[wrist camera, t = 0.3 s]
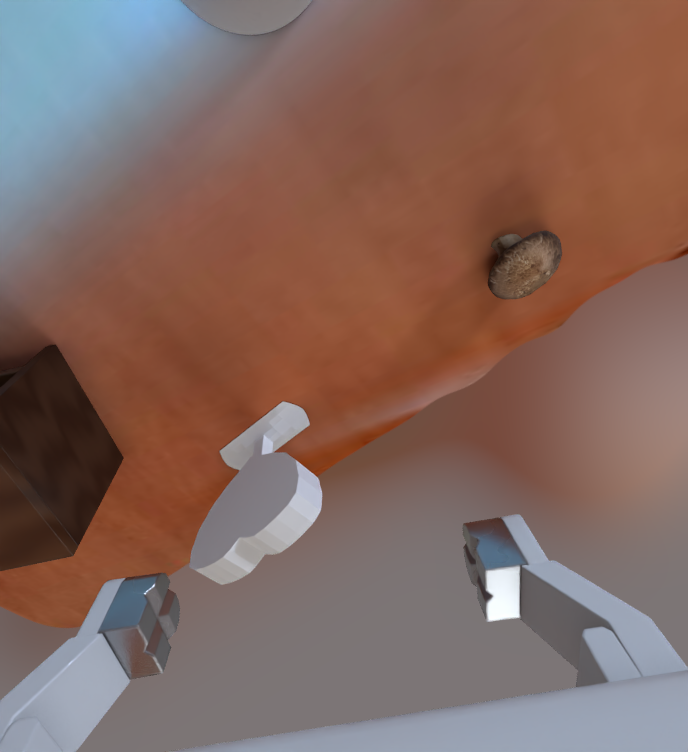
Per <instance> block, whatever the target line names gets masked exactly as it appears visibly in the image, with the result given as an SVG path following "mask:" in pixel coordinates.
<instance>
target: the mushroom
mask: <svg viewBox="0 0 688 752" xmlns="http://www.w3.org/2000/svg"><path fill="white" fill-rule="evenodd" d="M491 247H492V248H493V249H494V250H495V251H496V252H497V253H498V256H499V258H498V259H497V261H496V263H495V264H494V266H493V268H492V269H491V271H490V274H489V279H488V286H489V288H490V290H491V291H492V293H493V294H494V295H495V296H496V297H499V298H501V299H518V298H522V297H525V296H527V295H529V294H531V293H532V292H534V291H535V290H536V289H538V288H539V287H541V286H542V285H544V284H545V283H546V282H547V281H548V280H549V279H550V277H551V276H552V275H553V274H554V272H555V271H556V270H557V268H558V265H559V263H560V260H561V256H562V249H561V243H560V240H559V238H558V237H557V236H556V235H555V234H553V233H551V232H549V231H540V232H536V233H533V234H531V235H529V236H527V237H525V238H523V239H522V238H521V237H520V236H518V235H515V234H508V235H504V236H501V237H499V238H497V239H496V240H494V241H493V242H492V244H491Z"/></svg>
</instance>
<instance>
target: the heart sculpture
mask: <svg viewBox="0 0 688 752" xmlns="http://www.w3.org/2000/svg"><path fill="white" fill-rule="evenodd" d="M309 425H310V424H309V420H308V417H307V415H306V413H305V411H304V410H303V409H302V408H300V407H299V406H297V405H294V404H291V403H287V402H282V403H280V404H279V405H278V406H276V407H275V408H274V409H273V410H271V411H270V412H269V413H268V414H266V415H265V416H264V417H262V418H261V419H260V420H259V421H257V422H256V423H255V424H254V425H252V426H251V427H250V428H248V429H247V430H246V431H245V432H243V433H242V434H241V435H239V436H238V437H237V438H236V439H234V440H233V441H232V442H231V443H229V444H228V445H227V446H225V447H224V448H223V449H222V450H220V454H221V456H222V458H223V460H224V461H225V463H226V464H227V465H228V466H230V467H232V468H234V469H238V470H240V471H239V472H238V474H237V475H236V476H235V477H234V478H233V480H232V481H231V482H230V483H229V484H228V486H227V487H226V488H225V490H224V491H223V492H222V494H221V495H220V497H219V498H218V499H217V501H216V502H215V503H214V505H213V506H212V508H211V510H210V511H209V513H208V515H207V517H206V518H205V520H204V522H203V524H202V526H201V527H200V529H199V531H198V534H197V537H196V540H195V543H194V546H193V549H192V552H191V559H190V566H189V567H190V568H192V569H194V570H196V571H197V572H199V573H201V574H203V575H205V576H206V577H208V578H210V579H212V580H213V581H215V582H217V583H219V584H220V585H222V584H226V583H231V582H233V581H236V580H238V579H241V578H242V577H244V576H246V575H247V574H249V573H250V572H251V571H252V570H253V569H254V568H255V567H256V566H257V564H258V563H259V562H260V560H261V559H262V558H263V556H264V555H265V554H273V555H274V554H278V553H281V552H282V551H284V550H285V549H286V548H288V547H289V546H290V545H292V544H293V543H294V542H295V541H296V540H297V539H298V538H299V537H300V536H302V535H303V533H304V532H305V531H306V530H307V529H308V528H309V527H310V526H311V525H312V524H313V523H314V521H315V519H316V518H317V516H318V515H319V513H320V511H321V503H322V491H321V487H320V483H319V479H318V477H316V476H315V475H314V474H313V473H311V472H310V471H309V470H308V469H306V468H305V467H304V466H303V465H301V464H300V463H299V462H298V461H296V460H295V459H294V458H292V457H291V456H290V455H288V454H287V453H273V452H274V451H276V450H277V449H278V448H280V447H281V446H282V445H284V444H285V443H286V442H288V441H289V440H290V439H292V438H293V437H294V436H296V435H297V434H298V433H300V432H301V431H302V430H304V429H305V428H306V427H308V426H309Z"/></svg>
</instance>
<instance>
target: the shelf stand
mask: <svg viewBox="0 0 688 752" xmlns="http://www.w3.org/2000/svg"><path fill="white" fill-rule="evenodd" d="M122 460H123V456H122V455H121V453H120V451H119V450H118V448H117V446H116V445H115V443H114V441H113V440H112V438H111V436H110V435H109V433H108V431H107V430H106V428H105V426H104V425H103V423H102V421H101V420H100V418H99V416H98V415H97V413H96V411H95V410H94V408H93V406H92V405H91V403H90V401H89V400H88V398H87V396H86V395H85V393H84V391H83V390H82V388H81V386H80V385H79V383H78V381H77V380H76V378H75V376H74V375H73V373H72V371H71V370H70V368H69V366H68V365H67V363H66V361H65V360H64V358H63V356H62V355H61V353H60V351H59V350H58V348H57V346H56V345H52V346H47V347H45V348H44V349H43V350H42V351H40V352H39V353H38V354H37V355H36V356H35V357H34V358H33V359H32V360H30V361H29V362H28V363H27V364H26V365H25V366H22V367H17V368H13V369H8V370H3V371H0V571H3V570H8V569H13V568H18V567H23V566H28V565H32V564H37V563H42V562H47V561H52V560H57V559H61V558H66V557H71V556H74V554H75V552H76V550H77V548H78V546H79V544H80V542H81V540H82V538H83V536H84V534H85V532H86V530H87V528H88V526H89V524H90V522H91V520H92V519H93V517H94V515H95V513H96V511H97V509H98V507H99V505H100V503H101V501H102V499H103V497H104V495H105V493H106V491H107V489H108V488H109V486H110V484H111V482H112V480H113V478H114V476H115V474H116V472H117V470H118V468H119V466H120V464H121V462H122Z"/></svg>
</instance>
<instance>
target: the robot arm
mask: <svg viewBox="0 0 688 752" xmlns="http://www.w3.org/2000/svg"><path fill="white" fill-rule="evenodd" d="M181 1H182V2H183V3H184V4H185V5H186V6H187V7H188V8H189V9H190V10H191V11H192V12H194V13H195V14H196V15H197V16H199V17H200V18H201V19H203V20H204V21H206V22H208V23H209V24H211V25H213V26H215V27H217V28H219V29H222V30H224V31H227V32H231V33H235V34H241V35H259V34H265V33H269V32H272V31H275V30H277V29H280V28H282V27H284V26H285V25H287V24H289V23H290V22H291V21H293V20H294V19H295V18H297V17H298V16H299V15H300V14H301V13H302V12H303V11H304V10H305V9H306V7H307V6H308V5H309V4H310V2H311V1H312V0H181ZM463 536H464V539H465V541H466V544H465V546H464V557H465V562H466V567H467V571H468V574H469V577H470V580H471V582H472V584H473V585H475V586H476V587H477V594H478V601H479V603H480V606H481V608H482V611H483V613H484V616H485V618H486V621H487V622H489V621H497V620H504V619H512V618H521V620H522V621H523V622H524V623H525V624H526V625H528V626H529V627H530V628H531V629H532V630H533V631H534V632H535V633H537V634H538V635H539V636H540V637H541V638H542V639H543V640H544V641H546V642H547V643H548V644H549V645H550V646H551V647H553V649H555V650H556V651H557V652H558V653H559V654H560V655H561V656H562V657H564V658H565V659H566V660H567V661H568V662H569V663H570V664H571V665H573V666H574V667H575V668H576V669H577V670H578V673H577V682H576V687H575V688H569V689H562V690H556V691H549V692H544V693H537V694H530V695H524V696H517V697H511V698H505V699H499V700H492V701H486V702H479V703H473V704H467V705H460V706H454V707H447V708H441V709H435V710H428V711H422V712H416V713H410V714H403V715H397V716H391V717H384V718H378V719H372V720H366V721H359V722H353V723H346V724H340V725H334V726H328V727H321V728H315V729H308V730H302V731H295V732H289V733H283V734H276V735H270V736H263V737H257V738H251V739H244V740H238V741H231V742H225V743H219V744H212V745H206V746H199V747H193V748H187V749H181V750H174V751H168V752H688V667H687V666H686V665H685V663H684V662H683V661H682V659H681V658H680V657H679V655H678V654H677V653H676V651H675V650H674V649H673V647H672V646H671V645H670V644H669V642H668V641H667V640H666V638H665V637H664V636H663V634H662V633H661V632H660V630H659V629H658V628H657V626H656V625H655V624H654V622H653V621H652V620H651V618H650V617H648V616H646V615H645V614H643V613H641V612H640V611H638V610H636V609H635V608H633V607H631V606H630V605H628V604H626V603H625V602H623V601H621V600H620V599H618V598H616V597H615V596H613V595H611V594H610V593H608V592H606V591H605V590H603V589H601V588H600V587H598V586H596V585H595V584H593V583H591V582H590V581H588V580H586V579H585V578H583V577H581V576H580V575H578V574H576V573H575V572H573V571H571V570H570V569H568V568H566V567H565V566H563V565H561V564H559V563H558V562H556V561H549V560H548V559H547V557H546V555H545V554H544V552H543V551H542V549H541V548H540V546H539V544H538V543H537V541H536V539H535V537H534V536H533V534H532V533H531V531H530V529H529V528H528V526H527V524H526V523H525V521H524V519H523V518H522V516H520V515H519V514H516V515H510V516H505V517H500V518H493V519H487V520H481V521H475V522H470V523H464V524H463ZM169 584H170V580H169V579H168V577H167V575H166V573H156V574H149V575H142V576H134V577H127V578H122V579H115V580H108V581H107V582H106V583H105V584H104V585H103V586H102V588H101V590H100V592H99V594H98V596H97V597H96V599H95V601H94V603H93V605H92V607H91V609H90V611H89V613H88V615H87V617H86V618H85V620H84V622H83V624H82V626H81V628H80V630H79V632H78V634H77V636H76V637H75V638H70V639H69V640H67V641H66V642H65V643H64V644H63V645H62V646H61V647H60V648H59V649H57V650H56V651H55V652H54V653H53V654H52V655H51V656H50V657H49V658H47V659H46V660H45V661H44V662H43V663H42V664H41V665H39V666H38V667H37V668H36V669H35V670H34V671H33V672H32V673H31V674H29V675H28V676H27V677H26V678H25V679H24V680H23V681H21V683H19V684H18V685H17V686H16V687H15V688H14V689H12V690H11V691H10V692H9V693H8V694H7V695H6V696H5V697H3V698H2V699H1V700H0V752H76V750H77V749H78V748H79V747H80V746H81V744H82V743H83V742H84V740H85V739H86V738H87V736H88V735H89V734H90V733H91V731H92V730H93V729H94V728H95V726H96V725H97V724H98V722H99V721H100V720H101V718H102V717H103V716H104V715H105V713H106V712H107V711H108V710H109V708H110V707H111V706H112V704H113V703H114V702H115V701H116V699H117V698H118V697H119V695H120V694H121V693H122V692H123V690H124V689H125V688H126V686H127V685H128V684H129V683H130V679H136V678H141V677H146V676H151V675H157V674H161V673H163V672H164V668H165V665H166V662H167V659H168V656H169V652H170V649H171V646H170V644H169V642H168V639H169V638H170V637H171V636H172V635H173V634H174V633H175V632H176V629H177V626H178V623H179V615H180V606H179V601H178V598H177V596H176V594H175V593H174V592H172V591H170V590H169V589H168V587H169Z"/></svg>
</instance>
